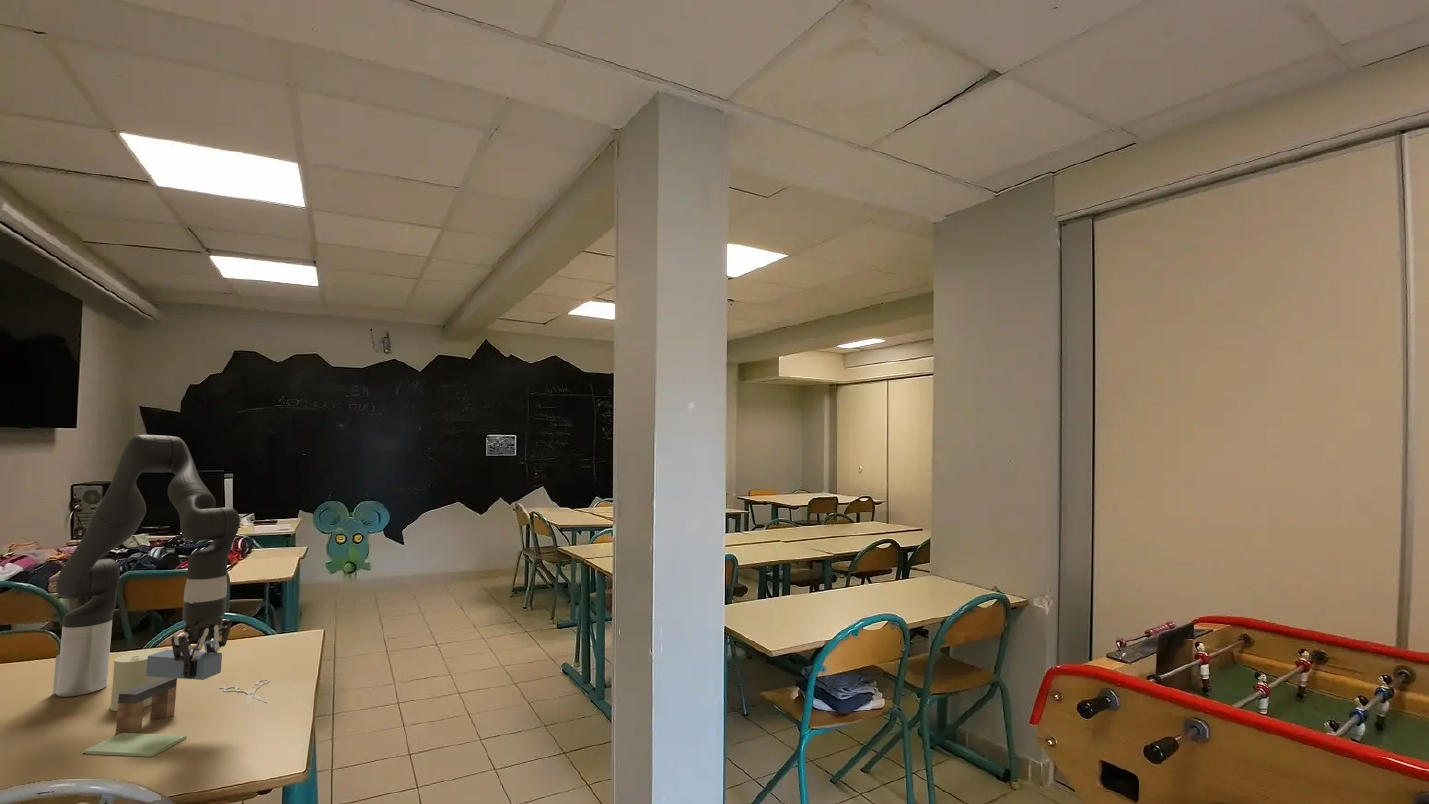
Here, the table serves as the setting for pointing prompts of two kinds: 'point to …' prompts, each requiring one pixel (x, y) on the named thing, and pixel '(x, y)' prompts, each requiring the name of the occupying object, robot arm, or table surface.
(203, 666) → the blue slab
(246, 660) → the table surface
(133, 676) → the can
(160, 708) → the block arch
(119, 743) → the pad
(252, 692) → the scissors
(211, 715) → the table surface
